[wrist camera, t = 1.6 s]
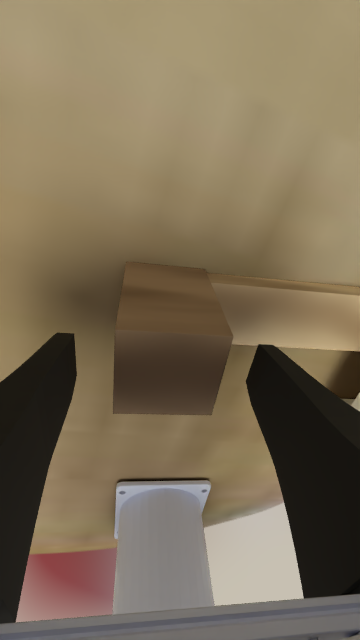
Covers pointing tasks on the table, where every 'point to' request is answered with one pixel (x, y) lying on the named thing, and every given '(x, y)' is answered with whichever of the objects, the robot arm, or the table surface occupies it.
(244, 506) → the table surface
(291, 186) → the table surface
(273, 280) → the brown wooden mallet
